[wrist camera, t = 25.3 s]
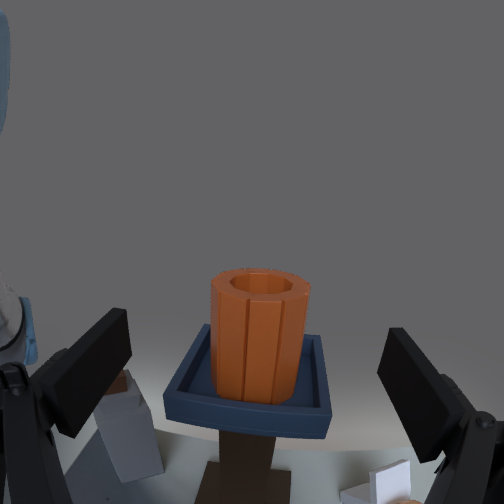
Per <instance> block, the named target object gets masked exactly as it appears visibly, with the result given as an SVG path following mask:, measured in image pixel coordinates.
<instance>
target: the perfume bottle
mask: <svg viewBox="0 0 504 504" xmlns="http://www.w3.org/2000/svg"><path fill="white" fill-rule="evenodd" d="M93 413H94V417H95V420H96V424H97V426H98V429H99V432H100V434H101V437H102V440H103V442H104V445H105V447H106V450H107V452H108V454H109V457H110V459H111V461H112V464H113V466H114V468H115V470H116V473H117V475H118V477H119V479H120V481H121V483H126V482H131V481H135V480H139V479H143V478H147V477H150V476H154V475H158V474H161V473H165V472H164V468H163V464H162V461H161V457H160V452H159V448H158V444H157V440H156V435H155V430H154V426H153V421H152V416H151V411H150V409H149V407H148V405H147V404H146V401H145V400H144V398H143V396H142V394H141V392H140V390H139V388H138V386H137V384H136V382H135V380H134V379H133V378H132V376H131V374H130V372H129V370H128V369H127V370H123V369H122V370H121V372H120V373H119V375H118V376H117V377H116V379H115V380H114V382H113V383H112V385H111V386H110V387H109V389H108V390H107V392H106V393H105V395H104V396H103V397H102V399H101V400H100V402H99V403H98V405H97V406H96V408H95V409H94V411H93Z"/></svg>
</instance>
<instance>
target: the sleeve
mask: <svg viewBox="0 0 504 504" xmlns="http://www.w3.org/2000/svg"><path fill="white" fill-rule="evenodd" d="M310 288H311V286H310V284H309V283H308V282H307V281H305V280H304V279H302V278H300V277H299V276H297V275H295V276H294V274H291V273H286V272H282V271H278V270H271V271H270V269H255V268H247V269H243V268H242V269H236V270H230V271H225V272H223V273H220V274H219V275H217V276H216V277H215V278H213V279H212V281H211V382H212V384H213V386H214V389H215V391H216V393H217V395H219V397H220V398H222V399H228V400H235V401H242V402H250V403H259V404H269V405H279V404H280V403H282V402H284V401H286V400H288V399H290V398H291V397H292V395H293V394H294V390H295V386H296V382H297V376H298V370H299V364H300V358H301V351H302V345H303V338H304V332H305V325H306V318H307V310H308V302H309V295H310Z"/></svg>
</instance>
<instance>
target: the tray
mask: <svg viewBox="0 0 504 504" xmlns="http://www.w3.org/2000/svg"><path fill="white" fill-rule="evenodd" d="M163 400H164V407H165V413H166V419H168V420H172V421H176V422H181V423H186V424H191V425H195V426H200V427H206V428H211V429H218V430H219V460H220V463H217V462H211V461H208V462H207V466H206V469H205V472H204V475H203V478H202V481H201V484H200V488H199V491H198V494H197V497H196V500H195V503H194V504H289V503H290V485H291V471H284V470H271V469H270V468H271V463H272V458H273V452H274V447H275V441H276V437H285V438H302V439H325V437H326V433H327V430H328V428H329V425H330V421H331V418H332V409H331V402H330V395H329V388H328V381H327V374H326V368H325V362H324V356H323V349H322V343H321V337H320V335H307V334H304V338H303V345H302V351H301V358H300V364H299V370H298V376H297V382H296V386H295V390H294V394H293V395H292V397H291V398H290V399H288V400H286V401H284V402H282V403H280V404H279V405H269V404H259V403H250V402H242V401H235V400H228V399H222V398H220V397H219V395H217V393H216V391H215V389H214V386H213V384H212V382H211V325H209V324H204V325H203V327H202V329H201V330H200V332H199V334H198V335H197V337H196V339H195V341H194V342H193V344H192V346H191V347H190V349H189V351H188V352H187V354H186V356H185V358H184V359H183V361H182V363H181V364H180V366H179V368H178V369H177V371H176V373H175V374H174V376H173V378H172V380H171V381H170V383H169V385H168V387H167V389H166V390H165V392H164V394H163Z"/></svg>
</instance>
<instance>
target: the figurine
mask: <svg viewBox="0 0 504 504" xmlns="http://www.w3.org/2000/svg"><path fill="white" fill-rule="evenodd" d="M369 478H370V483H368V482H367V483H364V484H361V485H358V486H355V487H352V488H349V489H346V490H342V491H340V500H341V502H342V503H344V504H422V503H421V502H418V501H416V500H409V494H410V463H409V460H403V459H402V460H400V461H397V462H395V463H392V464H389V465H387V466H384V467H381V468H379V469H376V470H373V471H370V472H369Z"/></svg>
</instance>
